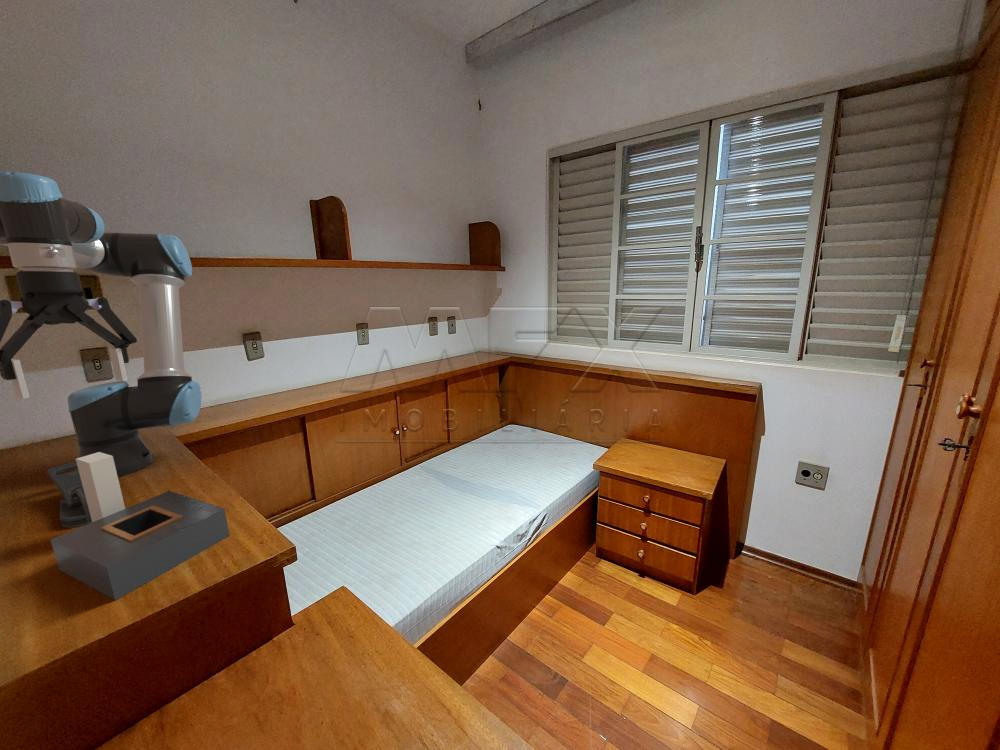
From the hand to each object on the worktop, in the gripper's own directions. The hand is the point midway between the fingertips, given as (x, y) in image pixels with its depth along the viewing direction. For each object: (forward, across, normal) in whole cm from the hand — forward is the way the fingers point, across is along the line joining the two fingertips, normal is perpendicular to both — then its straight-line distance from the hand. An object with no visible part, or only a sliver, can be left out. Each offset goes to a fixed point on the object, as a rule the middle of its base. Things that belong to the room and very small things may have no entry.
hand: (76, 388), depth 74 cm
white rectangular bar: (+30, 0, 0) cm, 30 cm away
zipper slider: (+30, +3, +20) cm, 36 cm away
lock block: (+30, -1, -15) cm, 33 cm away
